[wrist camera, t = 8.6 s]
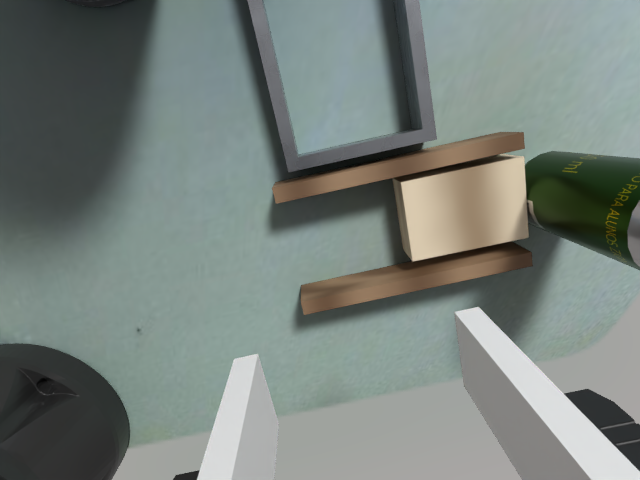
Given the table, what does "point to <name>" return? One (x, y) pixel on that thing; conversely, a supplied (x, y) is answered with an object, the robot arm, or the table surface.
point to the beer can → (587, 201)
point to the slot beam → (413, 272)
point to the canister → (95, 2)
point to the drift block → (462, 206)
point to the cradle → (420, 132)
